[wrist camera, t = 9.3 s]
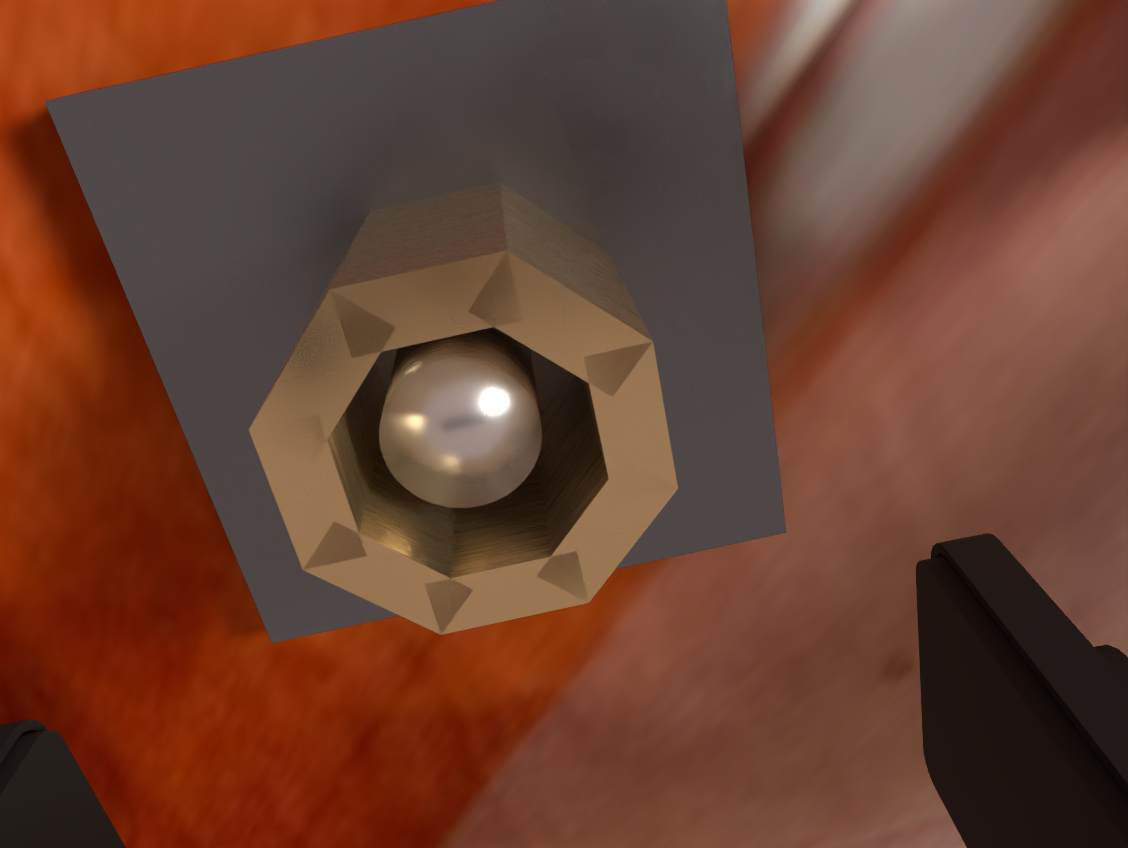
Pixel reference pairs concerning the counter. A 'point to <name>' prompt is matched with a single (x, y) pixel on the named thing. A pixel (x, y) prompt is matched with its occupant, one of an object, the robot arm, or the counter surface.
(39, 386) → the counter surface
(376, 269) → the hub ring
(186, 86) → the shaft block
